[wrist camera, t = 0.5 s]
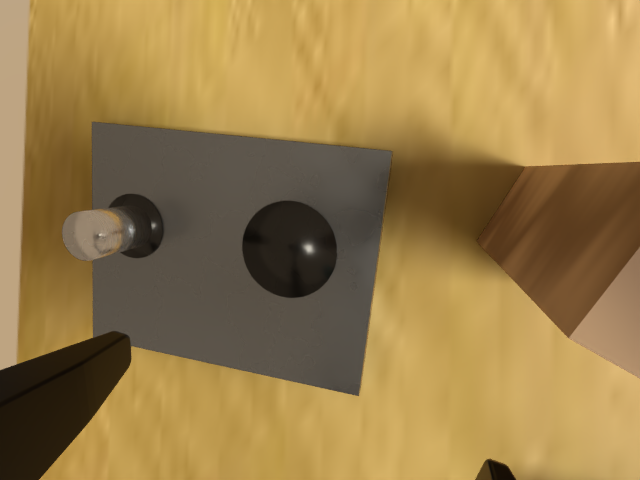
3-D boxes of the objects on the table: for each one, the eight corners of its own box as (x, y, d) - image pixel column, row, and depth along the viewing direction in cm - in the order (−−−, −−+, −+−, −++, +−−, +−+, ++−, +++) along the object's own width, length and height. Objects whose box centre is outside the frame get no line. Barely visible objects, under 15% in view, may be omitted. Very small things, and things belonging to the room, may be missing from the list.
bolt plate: (361, 385, 24) (348, 440, 19) (106, 330, 28) (39, 365, 23) (392, 152, 22) (387, 146, 17) (106, 124, 25) (31, 112, 20)
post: (553, 283, 21) (763, 448, 9) (476, 241, 22) (568, 338, 9) (608, 209, 20) (942, 273, 7) (525, 166, 20) (708, 158, 8)
